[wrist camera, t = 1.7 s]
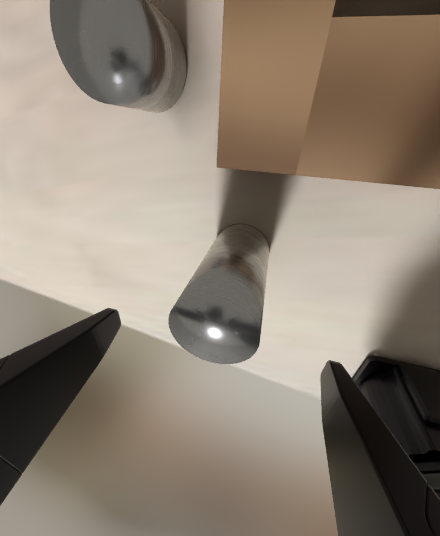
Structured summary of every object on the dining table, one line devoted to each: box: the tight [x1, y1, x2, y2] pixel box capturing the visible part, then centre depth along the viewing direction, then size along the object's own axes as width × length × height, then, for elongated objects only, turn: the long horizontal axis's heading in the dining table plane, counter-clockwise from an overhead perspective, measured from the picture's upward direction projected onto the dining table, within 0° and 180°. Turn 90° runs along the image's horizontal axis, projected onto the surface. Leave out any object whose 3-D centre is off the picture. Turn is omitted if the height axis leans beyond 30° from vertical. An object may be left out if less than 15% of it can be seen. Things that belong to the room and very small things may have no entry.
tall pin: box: [169, 224, 269, 364], centre depth 12 cm, size 4×4×8 cm
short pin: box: [50, 0, 186, 112], centre depth 10 cm, size 4×4×4 cm
